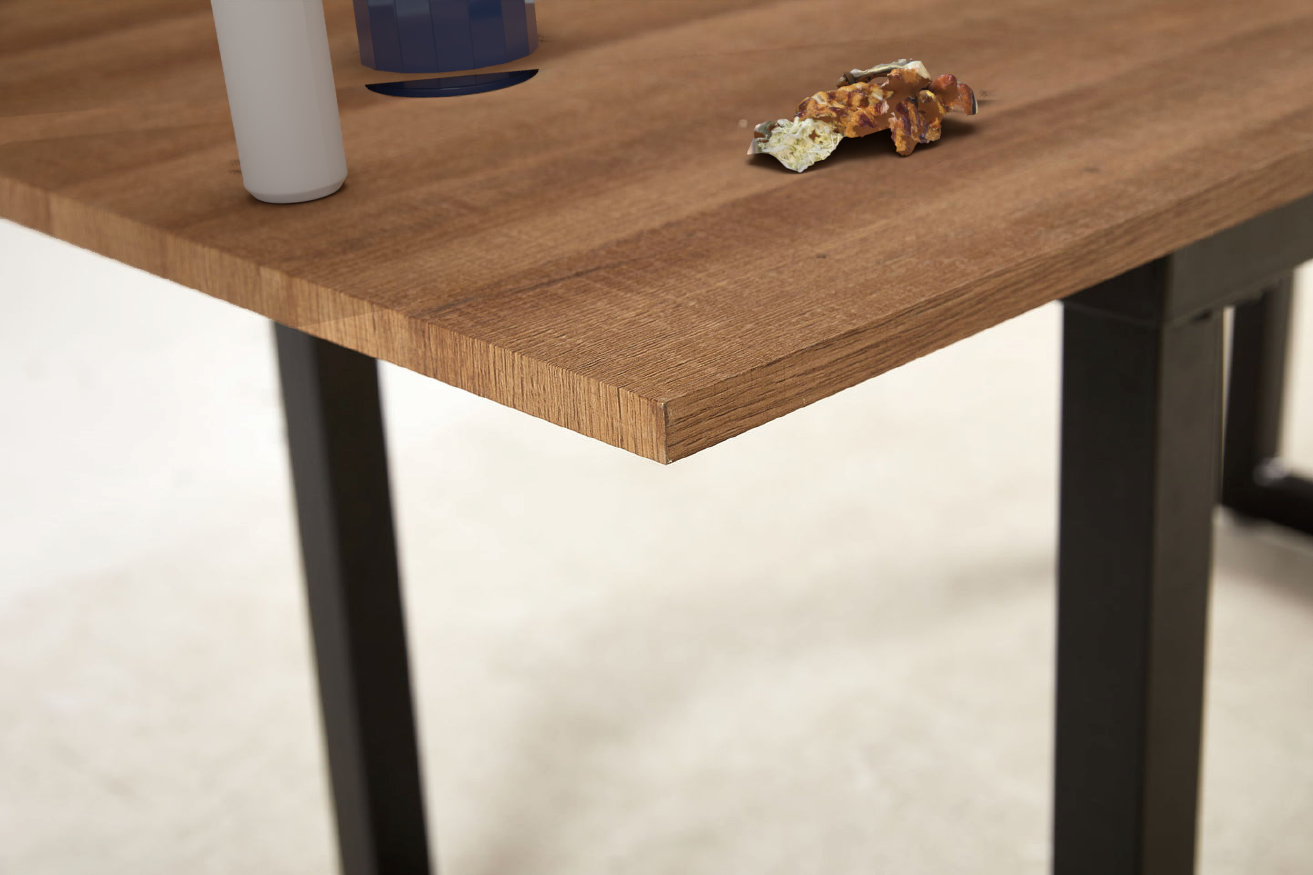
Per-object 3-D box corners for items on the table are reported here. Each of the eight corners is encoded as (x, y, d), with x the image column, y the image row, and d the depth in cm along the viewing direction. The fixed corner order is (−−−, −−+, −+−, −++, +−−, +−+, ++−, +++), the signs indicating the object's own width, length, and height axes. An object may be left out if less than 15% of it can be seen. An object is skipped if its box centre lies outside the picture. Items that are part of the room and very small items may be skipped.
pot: (512, 97, 87) (496, -60, 83) (337, 98, 89) (315, -55, 85) (558, 55, 96) (546, -89, 93) (399, 57, 98) (381, -84, 95)
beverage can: (237, 186, 74) (190, -75, 69) (336, 169, 76) (297, -87, 71) (255, 212, 70) (206, -63, 65) (360, 194, 72) (320, -76, 67)
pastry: (721, 157, 74) (718, 82, 73) (883, 104, 81) (884, 34, 80) (833, 183, 69) (832, 104, 68) (995, 124, 77) (998, 51, 75)
